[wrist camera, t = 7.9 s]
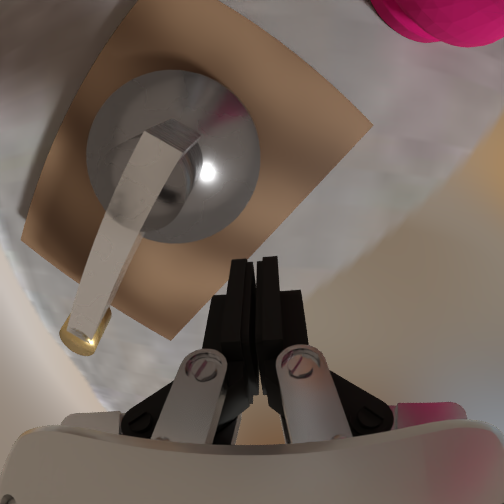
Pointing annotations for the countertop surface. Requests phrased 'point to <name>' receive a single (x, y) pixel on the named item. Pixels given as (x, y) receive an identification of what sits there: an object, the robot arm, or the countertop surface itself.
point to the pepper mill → (445, 20)
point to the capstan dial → (160, 180)
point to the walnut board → (270, 140)
